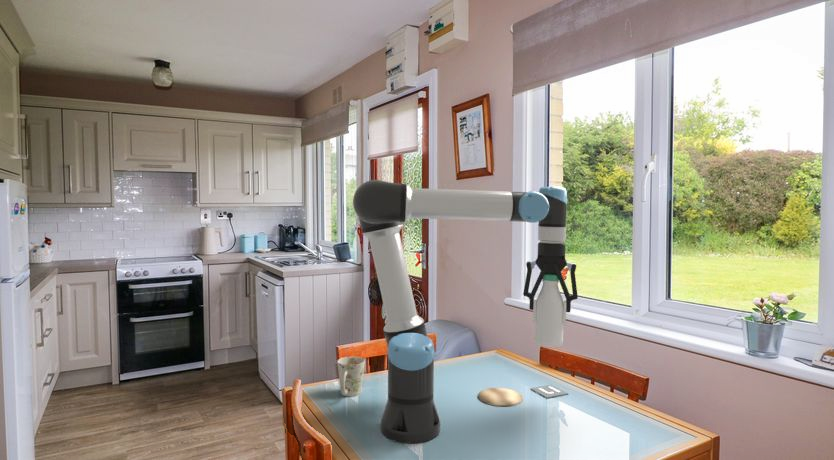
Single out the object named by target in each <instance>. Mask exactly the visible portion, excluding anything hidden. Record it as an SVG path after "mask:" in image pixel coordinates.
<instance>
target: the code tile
mask: <svg viewBox="0 0 834 460" xmlns="http://www.w3.org/2000/svg"><path fill="white" fill-rule="evenodd" d="M530 391H533V392H534V391H535V392H534V393H536V392H537V393H536V394H538V395H540V396H541V395H542V397H543V396H544V397H543V398H545V397H546V398H545V399H547V398H548V399H551V398H552V397H553V398H558V397H563V396H568V395H569V393H568V392H566V391H565V390H562V389H561V388H559V387H557V386H555V385H553V384H548V385H542V386H541V385H540V386H535V387H530Z"/></svg>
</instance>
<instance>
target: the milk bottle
mask: <svg viewBox="0 0 834 460" xmlns="http://www.w3.org/2000/svg"><path fill="white" fill-rule="evenodd" d="M541 282H542V285H541V289H540V291H539V294H538V296H537V297H536V298H537V302H536V322H534V342H535V344H537V345H539V346H543V347H549V348H557V347H562V345H563V343H564V325H563V306H564V304H563V303H564V299H563V296H562V293H561V292H560V288H559V283H560V282H559V279H558V277H557V275H551V274H544V277H543V279H542V281H541Z"/></svg>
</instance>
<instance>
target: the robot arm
mask: <svg viewBox="0 0 834 460" xmlns="http://www.w3.org/2000/svg"><path fill="white" fill-rule="evenodd" d="M352 205H353V209H354V212H355V214H356V215H357V217H358V221H359V226H360V230H361V234H362V235H363V236H364V237H366V238H367V239H368V240H369V245H370V251H371V254H372V258H373V262H374V267H375V272H376V276H377V281H378V285H379V291H380V295H381V299H382V304H383V307H384V312H385V313H384V314H385V315H386V316H385V317H386V323H385V325H384V327H383V333H384V337H385V342H386V347H387V349H386V350H387V351H386V353H387V401H386V405H385V407H384V410H383V413H382V415H381V418H380V419H381V420H380V431H381V434H382V435H383V436H384V437H385V438H387V439H389V440H390V441H392V442H393V441H394V442H397V443H405V444H417V443H422V442H428V441H430V440H432V439H434V438H436V437H438V435H439V433H441V432H440V431H441V419H440V416H439V413H438V410H437V407H436V404H435V399H434V391H435V389H434V387H435V386H434V385H435V384H434V383H435V381H434V379H435V377H434V374H435V373H434V368H435V365H434V363H435V361H434V360H435V359H434V358H435V355H436V354H435V348H434V346H435V345H434V342H433V340H432V339H431V338H430V337H428V334H427V333H428V332H427V328H426V325H425V320H424V318H422V317H421V316H419V315H418V312H417V308H416V304H415V303H416V302H415V299H414V294H413V289H412V285H411V280H410V276H409V271H408V266H407V262H406V257H405V252H404V248H403V243H402V239H401V235H400V231H401V230H402V228H403V226H404V223H407V222H408V221H409V220H410V219H418V220H419V219H422V220H423V219H424V220H425V219H428V220H430V219H431V220H433V219H435V220H455V221H456V220H461V221H463V220H465V221H493V222H495V221H496V222H498V221H499V222H501V221H503V222H518V223H519V222H522V223H523V222H525V223H538V224H537V226H538V228H537V230H538V231H537V240H538V241H539V242H538V243H537V258H536V259H535V260H533V261H530V260H528V261H527V262H526V263H525V264H526V265H525V266H526V275H525V282H524V287H523V292H522V294H523V296H524V297H526V298H528V299H529V310H530V311H533V312H532V323H535V322H536V302H537V298H538V297H536V293H537V291H538V290H539V287H540V285H541V282H543V281H542V279H543V277H544V274H551V275H557V277H558V279H559V282H558V283H559V285H560V286H561V289H562V291H563V295H564V297H565V299H563V304H564V306H563V326H566V325H567V313H571V312H572V311H571V306H572V301H575V300H578V298H579V296H578V290H577V289H578V287H577V281H576V280H577V279H576V270H577V264H576V263H575V262H574V263H573V262H572V263H571V262H567V259H566V245H567V244H565V241H566V240H567V239H566V238H567V211H568V210H567V207H568V194H567V190H566V188H565V187H562V186H542V187H540V188H539V191H538V192H537V191H532V190H531V191H510V190H509V191H508V190H507V191H506V190H505V191H503V190H500V191H499V190H480V189H478V190H473V189H448V188H447V189H445V188H418V187H417V188H416V187H415V188H413V187H411V186H410V185H409V184H408V183H397V182H396V183H395V182H390V181H386V180H385V181H384V180H380V179H370V180H368V181H365V182H362V184H360V185H359V186H358V188H357V189H356V190H355V192H354V195H353V199H352ZM535 266H537V268H538V269H539V270H540V272H539V273H538V274H539V275H538V277H537V278H536V281H535V284H534V286H533V287H532V290H531V292H529V291H530V290H529V289H530V283H531V278H532V272H533V269H535ZM566 267H567V269H568V271H569V273H570V282H571V289H572V290H571V291H572V294H571V295H570V292H569V289H568V287H567V284H566V282H565V278H564V277H563V274H562V271H563V270H564V269H565V268H566Z"/></svg>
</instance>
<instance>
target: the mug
mask: <svg viewBox="0 0 834 460" xmlns="http://www.w3.org/2000/svg"><path fill="white" fill-rule="evenodd" d="M336 362H337V363H336V365H337V372H338V379H339V387H340V394H341V395H342V396H343V397H349V398H350V397H356V396H359V395H360V394H362V388H363V379H364V372H365V366H366V365H365V364H366V360H365V358H363V357H360V356H345V357H340V358H339V359H337V361H336Z"/></svg>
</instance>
